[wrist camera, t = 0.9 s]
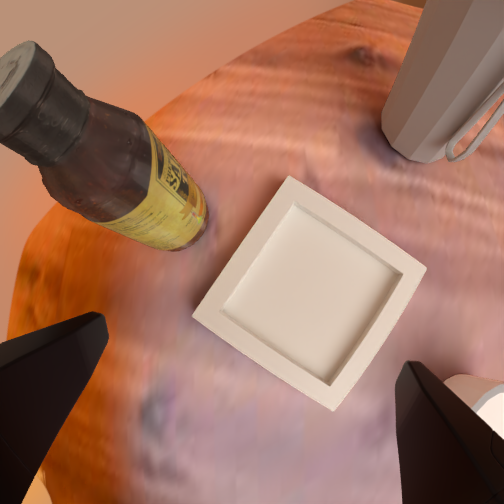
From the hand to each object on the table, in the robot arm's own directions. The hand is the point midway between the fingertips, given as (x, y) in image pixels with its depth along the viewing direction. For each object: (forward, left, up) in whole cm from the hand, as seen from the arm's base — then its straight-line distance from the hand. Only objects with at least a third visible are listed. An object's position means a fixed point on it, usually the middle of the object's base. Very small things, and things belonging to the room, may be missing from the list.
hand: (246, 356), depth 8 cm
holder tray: (+3, -1, -16) cm, 17 cm away
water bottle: (+20, -2, -16) cm, 26 cm away
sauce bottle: (+2, +12, -16) cm, 20 cm away
